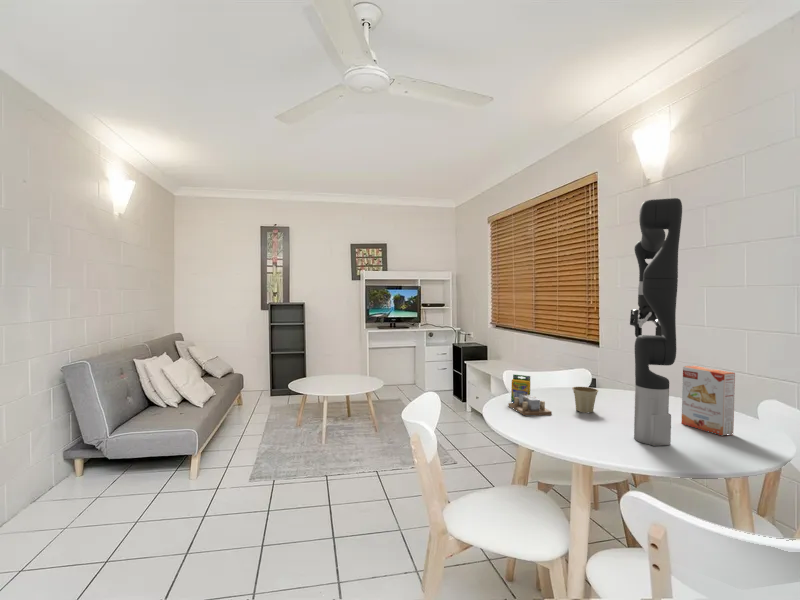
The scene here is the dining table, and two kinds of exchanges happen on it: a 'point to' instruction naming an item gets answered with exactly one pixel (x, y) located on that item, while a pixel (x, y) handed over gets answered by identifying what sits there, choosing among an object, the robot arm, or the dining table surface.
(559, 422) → the dining table surface
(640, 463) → the dining table surface
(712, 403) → the cracker box
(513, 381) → the crayon box
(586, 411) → the flower pot
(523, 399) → the translucent grey block
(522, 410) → the rack
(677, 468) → the dining table surface
